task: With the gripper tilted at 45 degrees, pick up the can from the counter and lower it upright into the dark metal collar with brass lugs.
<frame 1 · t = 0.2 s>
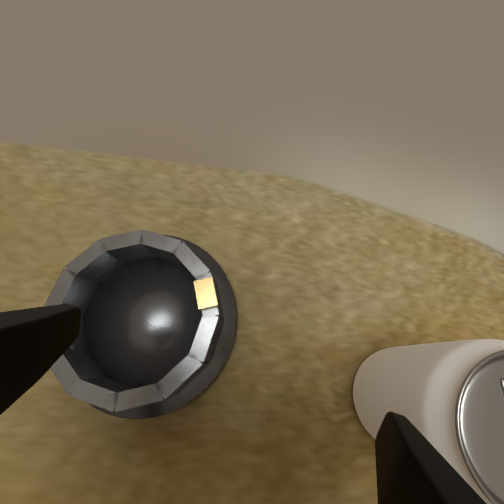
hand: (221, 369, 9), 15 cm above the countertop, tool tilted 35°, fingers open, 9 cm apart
can: (397, 396, 22), on the countertop
collar: (150, 320, 24), on the countertop
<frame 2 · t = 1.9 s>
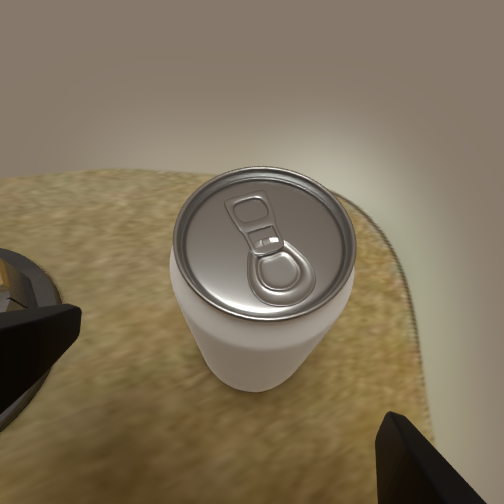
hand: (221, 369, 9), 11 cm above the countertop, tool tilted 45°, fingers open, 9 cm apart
can: (252, 338, 20), on the countertop
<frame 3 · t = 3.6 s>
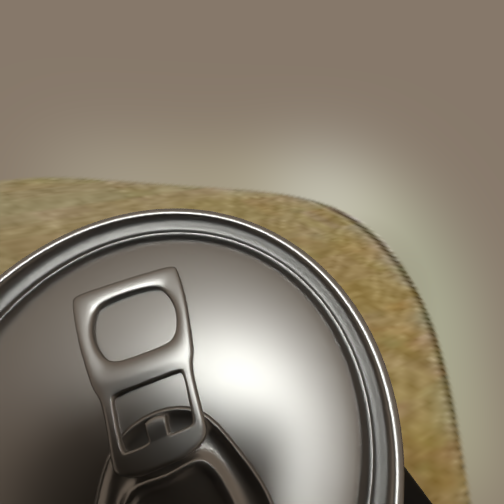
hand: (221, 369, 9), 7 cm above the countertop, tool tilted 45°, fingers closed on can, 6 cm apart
can: (219, 427, 14), on the countertop, touching gripper
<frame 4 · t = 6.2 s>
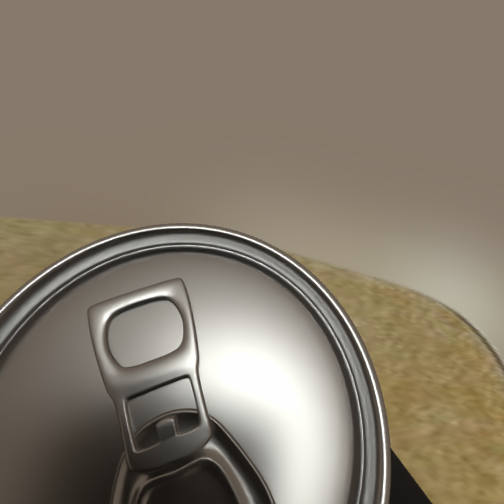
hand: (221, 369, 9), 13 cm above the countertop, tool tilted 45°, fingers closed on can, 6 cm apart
can: (220, 426, 15), point 6 cm above the countertop, touching gripper
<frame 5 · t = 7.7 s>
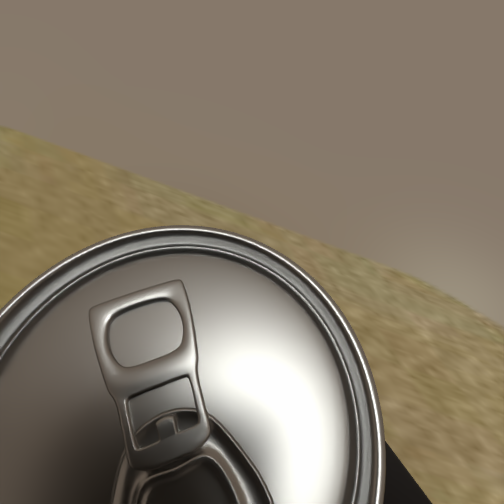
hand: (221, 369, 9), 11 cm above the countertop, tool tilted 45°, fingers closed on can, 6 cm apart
can: (220, 425, 15), point 4 cm above the countertop, touching gripper
when the fingers open (8 cm above the countertop, at t = 8.8 s): can stays where it is, resting on collar.
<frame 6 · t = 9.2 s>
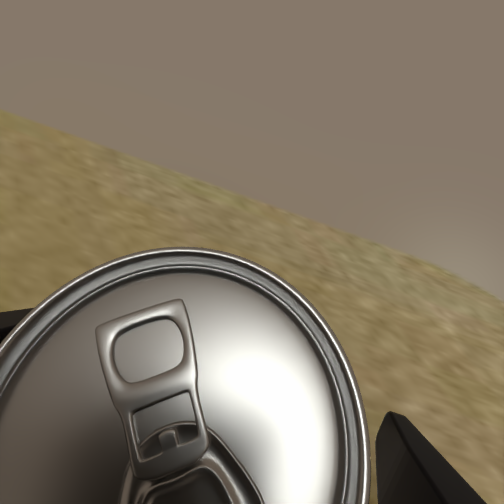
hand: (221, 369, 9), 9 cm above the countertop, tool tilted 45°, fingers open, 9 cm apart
can: (219, 430, 15), point 1 cm above the countertop, touching collar
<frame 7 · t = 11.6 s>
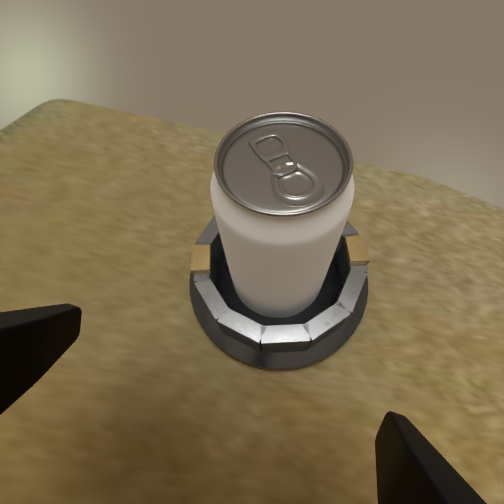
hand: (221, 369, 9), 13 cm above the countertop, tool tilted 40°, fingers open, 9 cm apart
can: (276, 278, 24), point 1 cm above the countertop, touching collar
collar: (277, 280, 24), on the countertop
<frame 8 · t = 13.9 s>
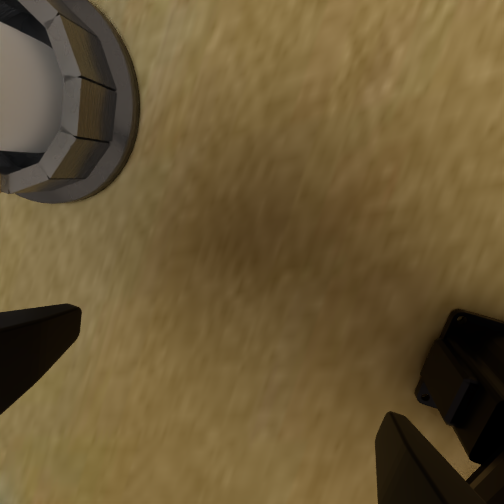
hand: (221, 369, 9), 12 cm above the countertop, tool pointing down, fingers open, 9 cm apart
can: (39, 100, 20), point 1 cm above the countertop, touching collar
collar: (48, 101, 21), on the countertop
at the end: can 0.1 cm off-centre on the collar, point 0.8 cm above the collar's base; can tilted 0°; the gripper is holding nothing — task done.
